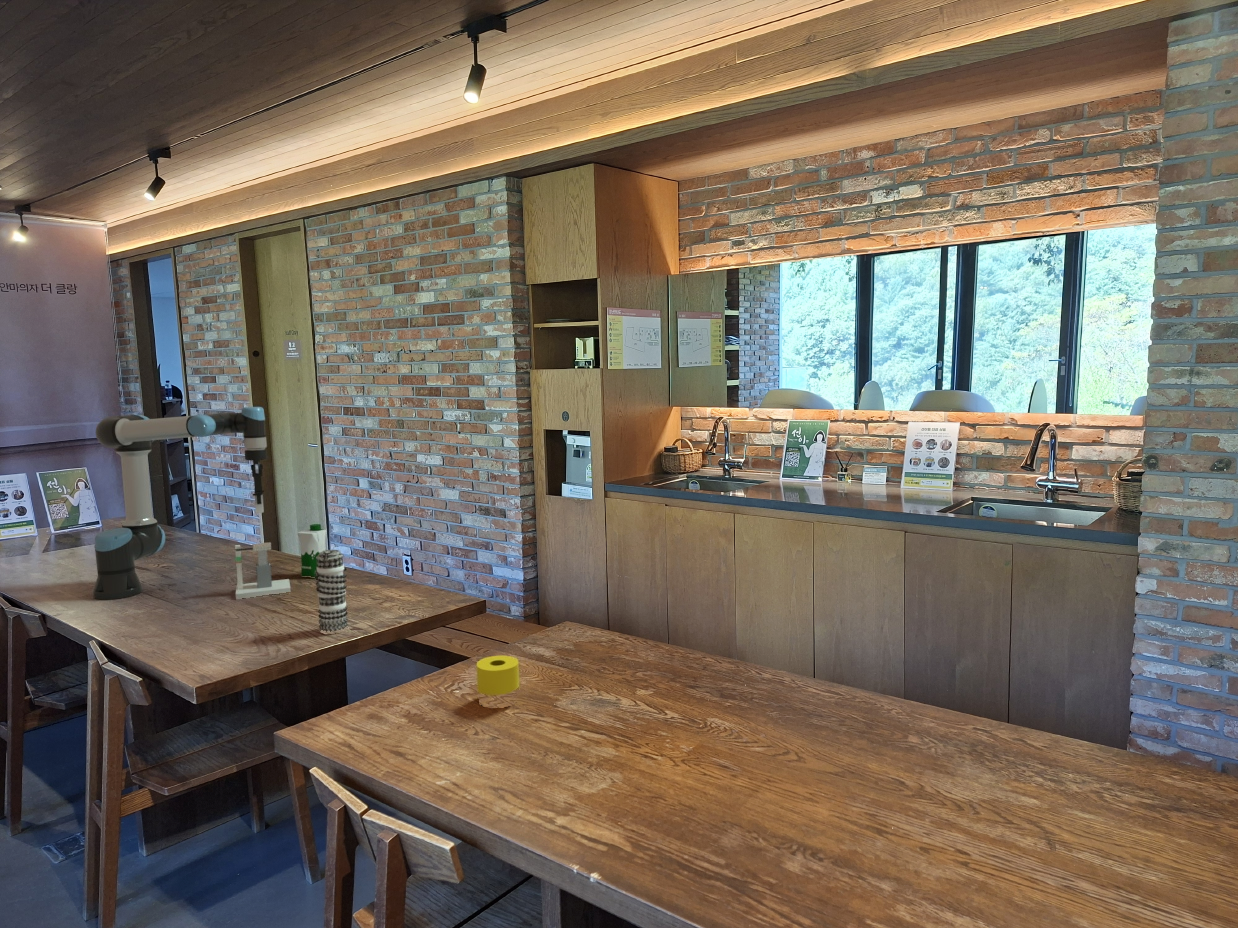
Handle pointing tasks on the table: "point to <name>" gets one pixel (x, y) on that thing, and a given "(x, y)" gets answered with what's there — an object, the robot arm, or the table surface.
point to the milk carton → (311, 548)
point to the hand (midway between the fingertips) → (259, 511)
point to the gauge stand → (258, 581)
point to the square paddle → (260, 552)
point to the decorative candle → (331, 590)
